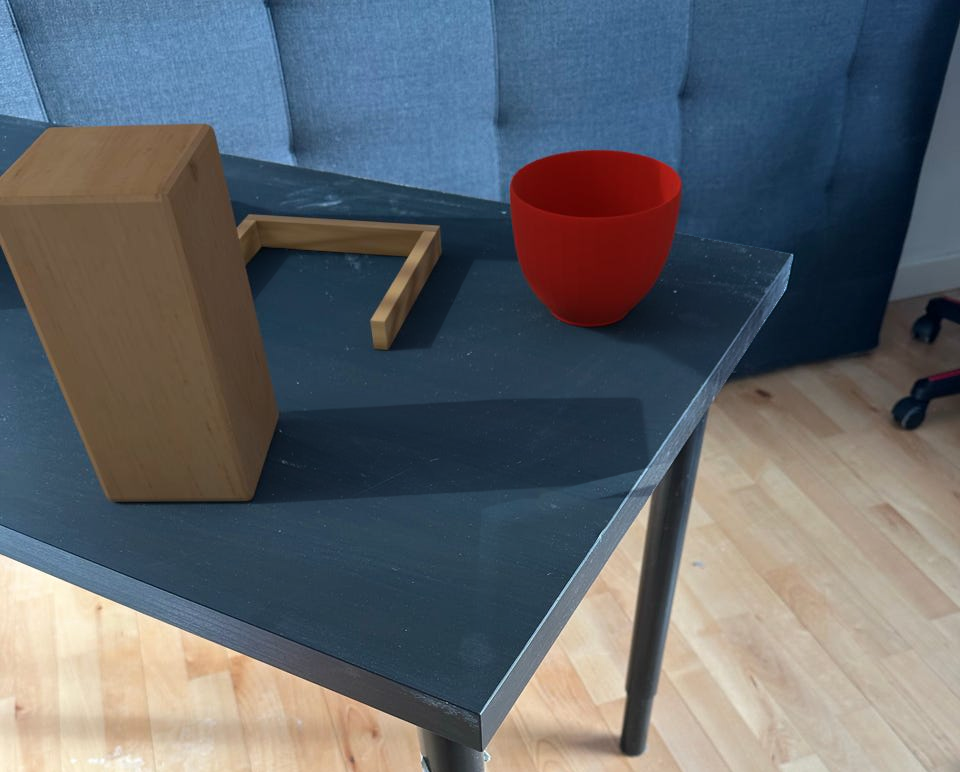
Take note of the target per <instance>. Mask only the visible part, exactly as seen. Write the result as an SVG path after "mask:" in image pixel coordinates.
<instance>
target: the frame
mask: <svg viewBox="0 0 960 772" xmlns="http://www.w3.org/2000/svg"><path fill="white" fill-rule="evenodd" d="M236 228H237V232H238V237H239V241H240V245H241V250H242V254H243V259H244V263H245V267H246V266H247V265H248V263H249V262H250V261H251V260H252V259H253V258H254V257H255V255H256V254H257V253H258V252H259V250H260V249H261V248H273V249H274V248H275V249H289V250H301V251H303V250H304V251H306V250H307V251H317V252H318V251H319V252H330V253H331V252H334V253H347V254H348V253H349V254H363V255H378V256H391V257H407V259H406V260H405V262H403V265H402V267H401V268H400V270H399V272H398V274H397V275H396V277H394V280H393V282H392V283H391V285H390V287H389V288H388V290H387V292H386V293H385V294H384V296H383V298H382V300H381V301H380V304H379V305H378V307H377V308H376V310H375V311H374V313H373V315H372V317H371V318H370V329H371V334H372V342H373V349H374V350H382V351H389V350H390V348H391V346H392V344H393V343H394V340H395V338H396V337H397V335H398V333H399V331H400V330H401V328H402V326H403V324H404V323H405V321H406V318H407V317H408V315H409V313H410V311H411V310H412V308H413V306H414V304H415V302H416V300H417V299H418V297H419V295H420V293H421V291H422V289H423V288H424V286H425V284H426V282H427V281H428V279H429V277H430V275H431V273H432V271H433V270H434V267H435V266H436V264H437V263H438V260H439V259H440V257H441V255H442V253H443V252H442V251H443V250H442V234H441V226H440V225H433V224H418V223H417V224H416V223H399V222H383V221H367V220H366V221H365V220H363V221H362V220H352V219H351V220H349V219H334V218H320V217H319V218H318V217H317V218H316V217H301V216H284V215H267V214H253V213H252V214H251V213H249V214H247V216H246V217H244V219H243V220H242V221H241V222H240V223H239V225H238V226H236Z"/></svg>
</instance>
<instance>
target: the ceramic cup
mask: <svg viewBox="0 0 960 772" xmlns="http://www.w3.org/2000/svg"><path fill="white" fill-rule="evenodd" d="M682 190H683V182H682V179H681V176H680V175H679V173H678V172H677V171H676V170H675V169H674V168H673V167H671V166H670V165H668V164H667V163H665V162H663V161H661V160H658V159H656V158H653V157H650V156H647V155H643V154H639V153H634V152H629V151H622V150H612V149H587V150H586V149H585V150H573V151H566V152H565V151H564V152H559V153H556V154H551V155H547V156H544V157H541V158H537V159H535V160H533V161H531V162H529V163H527V164H525V165H523V167H521V168H519V169H518V170H517V171H516V172H515V174H514V175H513V176H512V177H511V181H510V183H509V205H510V215H511V224H512V233H513V241H514V248H515V252H516V255H517V259H518V263H519V267H520V269H521V272H522V274H523V276H524V278H525V280H526V282H527V283H528V285H529V287H530V289H531V291H532V292H533V293H534V295H535V296H536V297H537V299H539V301H540V302H541V303H542V304H543V305H544V307H546V308H547V309H548V310H549V312H550V313H551V315H552V316H554V318H556V319H557V320H559V321H561V322H563V323H565V324H569V325H572V326H578V327H601V326H608V325H610V324H613V323H616V322H619V321H620V320H622V319H624V318H625V316H626V315H628V313H629V312H630V311H631V310H632V309H634V307H635V306H637V304H639V303H640V301H642V300H643V299H644V298H645V297H646V296H647V294H648V293H649V292H650V291H651V289H652V288H653V286H654V285H655V284H656V282H657V280H658V279H659V277H660V274H661V272H662V271H663V268H664V266H665V265H666V263H667V260H668V257H669V254H670V252H671V249H672V245H673V241H674V238H675V234H676V228H677V224H678V219H679V213H680V207H681V201H682V193H683V192H682Z"/></svg>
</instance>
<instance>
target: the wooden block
mask: <svg viewBox="0 0 960 772" xmlns="http://www.w3.org/2000/svg"><path fill="white" fill-rule="evenodd" d="M216 136H217V135H216V132H215V130H214V128H213V125H211V124H208V123H204V122H203V123H167V124H164V123H163V124H131V125H127V124H126V125H89V126H51V127H49V128H47V129H45V130H44V131H43V132H42V134H40V136H38V138H37V139H36V140H34V141H33V142H32V144H31V145H30V146H29V147H28V148H26V150H25V151H24V152H23V153H22V154H21V155H20V156H19V157H18V158H17V159H16V160H15V162H13V163H12V164H11V166H9V167H8V169H6V170H5V172H4V173H3V174H2V175H1V176H0V247H1V249H2V251H3V254H4V257H5V259H6V261H7V263H8V266H9V268H10V271H11V273H12V276H13V278H14V280H15V283H16V285H17V287H18V290H19V292H20V295H21V297H22V299H23V302H24V304H25V306H26V309H27V312H28V314H29V316H30V319H31V320H32V323H33V326H34V328H35V330H36V333H37V335H38V337H39V341H40V343H41V345H42V347H43V350H44V352H45V355H46V357H47V359H48V362H49V364H50V367H51V369H52V371H53V374H54V376H55V378H56V381H57V383H58V386H59V389H60V391H61V393H62V395H63V398H64V400H65V402H66V405H67V407H68V410H69V412H70V414H71V417H72V419H73V421H74V424H75V426H76V429H77V431H78V433H79V436H80V438H81V440H82V443H83V446H84V448H85V450H86V452H87V454H88V458H89V459H90V462H91V464H92V467H93V470H94V471H95V474H96V477H97V479H98V481H99V484H100V486H101V488H102V491H103V493H104V495H105V498H106V499H107V500H108V501H110V502H113V503H114V502H116V503H117V502H123V503H124V502H247V501H251V500H252V499H253V498H254V495H255V492H256V489H257V486H258V483H259V480H260V477H261V473H262V470H263V468H264V465H265V463H266V462H265V461H266V458H267V455H268V452H269V449H270V446H271V443H272V440H273V437H274V432H275V430H276V427H277V424H278V420H279V418H280V412H279V408H278V404H277V400H276V399H277V398H276V396H275V395H276V394H275V391H274V387H273V382H272V379H271V374H270V369H269V365H268V360H267V356H266V352H265V347H264V343H263V339H262V338H263V337H262V334H261V330H260V324H259V320H258V317H257V312H256V311H257V310H256V308H255V304H254V299H253V294H252V289H251V285H250V281H249V276H248V273H247V268H246V266H245V263H244V259H243V254H242V250H241V245H240V241H239V237H238V232H237V224H236V219H235V215H234V211H233V206H232V202H231V201H232V200H231V197H230V194H229V189H228V184H227V180H226V175H225V171H224V166H223V163H222V158H221V157H222V156H221V153H220V150H219V145H218V141H217V140H218V139H217V137H216Z"/></svg>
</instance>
